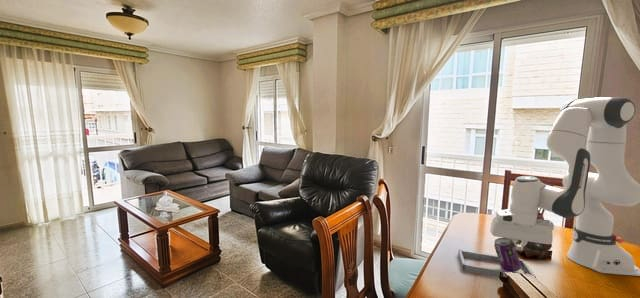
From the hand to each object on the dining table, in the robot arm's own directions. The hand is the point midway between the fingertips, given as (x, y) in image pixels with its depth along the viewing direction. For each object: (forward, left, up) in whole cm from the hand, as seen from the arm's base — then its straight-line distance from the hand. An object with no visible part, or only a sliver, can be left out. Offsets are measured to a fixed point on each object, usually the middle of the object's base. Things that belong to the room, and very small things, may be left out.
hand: (518, 249), depth 109 cm
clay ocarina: (-11, -19, -10) cm, 24 cm away
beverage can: (+1, -1, -9) cm, 9 cm away
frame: (+8, -1, -10) cm, 13 cm away
